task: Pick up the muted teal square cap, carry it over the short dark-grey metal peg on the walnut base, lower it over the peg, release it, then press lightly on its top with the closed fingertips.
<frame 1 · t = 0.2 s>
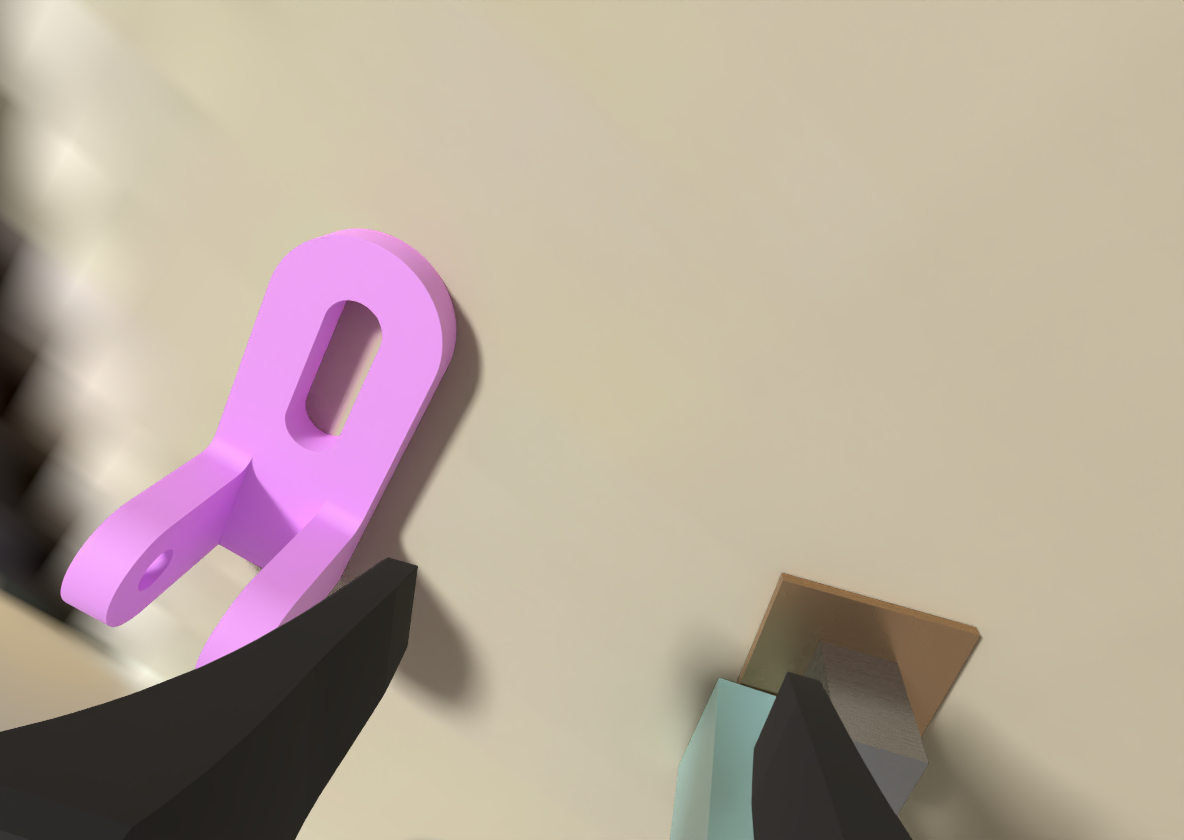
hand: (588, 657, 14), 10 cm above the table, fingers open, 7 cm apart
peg: (842, 671, 25), on the table
bracket: (336, 406, 24), on the table
cap: (766, 746, 26), on the table, tilted 5°, touching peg
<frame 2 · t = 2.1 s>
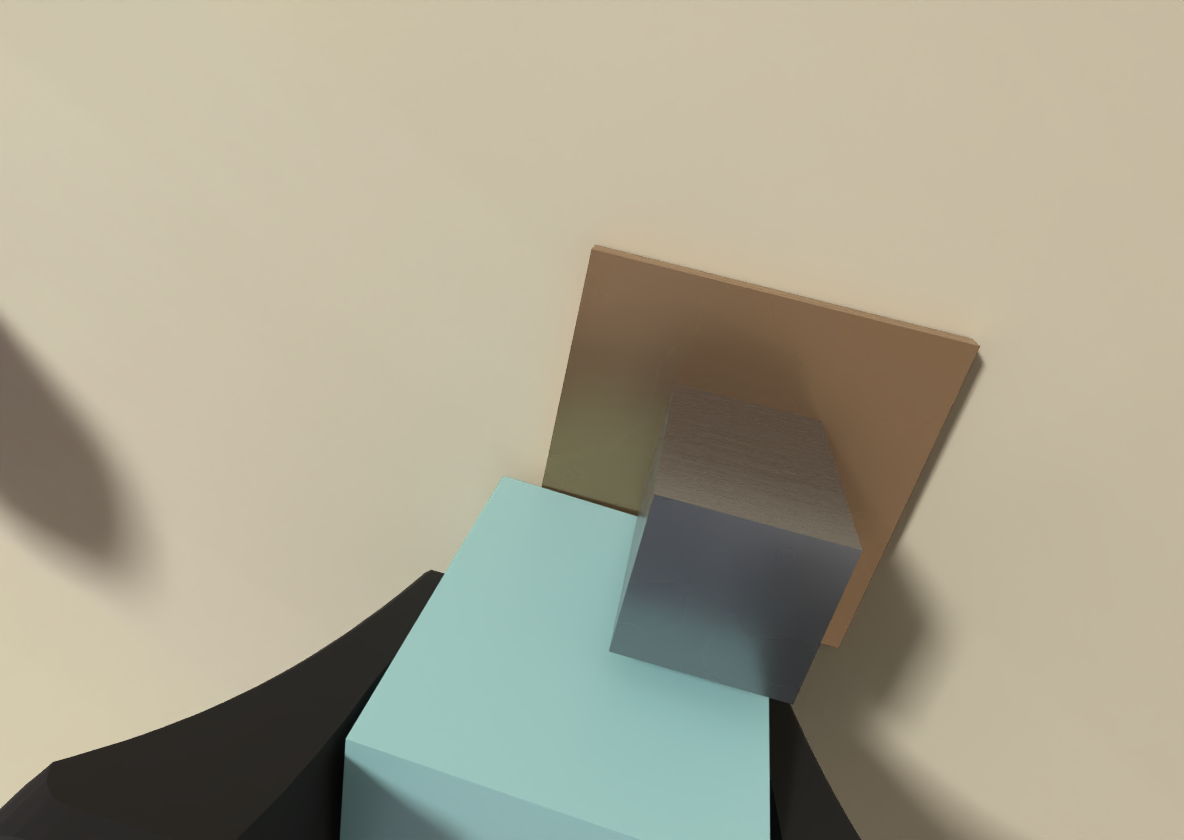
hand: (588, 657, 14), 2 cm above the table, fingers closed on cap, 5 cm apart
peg: (725, 456, 13), on the table
cap: (603, 612, 15), on the table, tilted 5°, touching gripper
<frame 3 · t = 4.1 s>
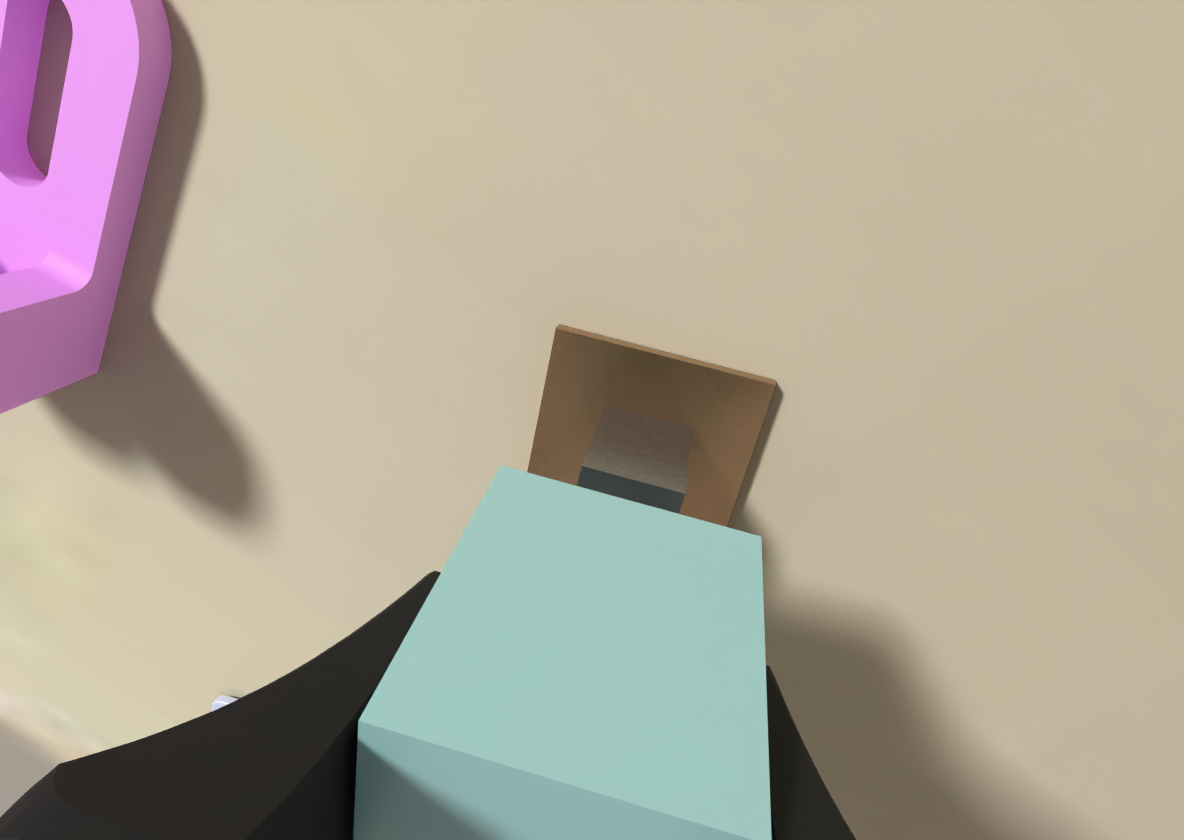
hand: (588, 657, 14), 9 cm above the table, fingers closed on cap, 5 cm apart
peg: (639, 448, 22), on the table
bracket: (65, 150, 22), on the table
cap: (602, 597, 15), point 7 cm above the table, tilted 5°, touching gripper
when the fingers open (4 cm above the table, at t = 6.1 s): cap drops 2 cm, resting on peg.
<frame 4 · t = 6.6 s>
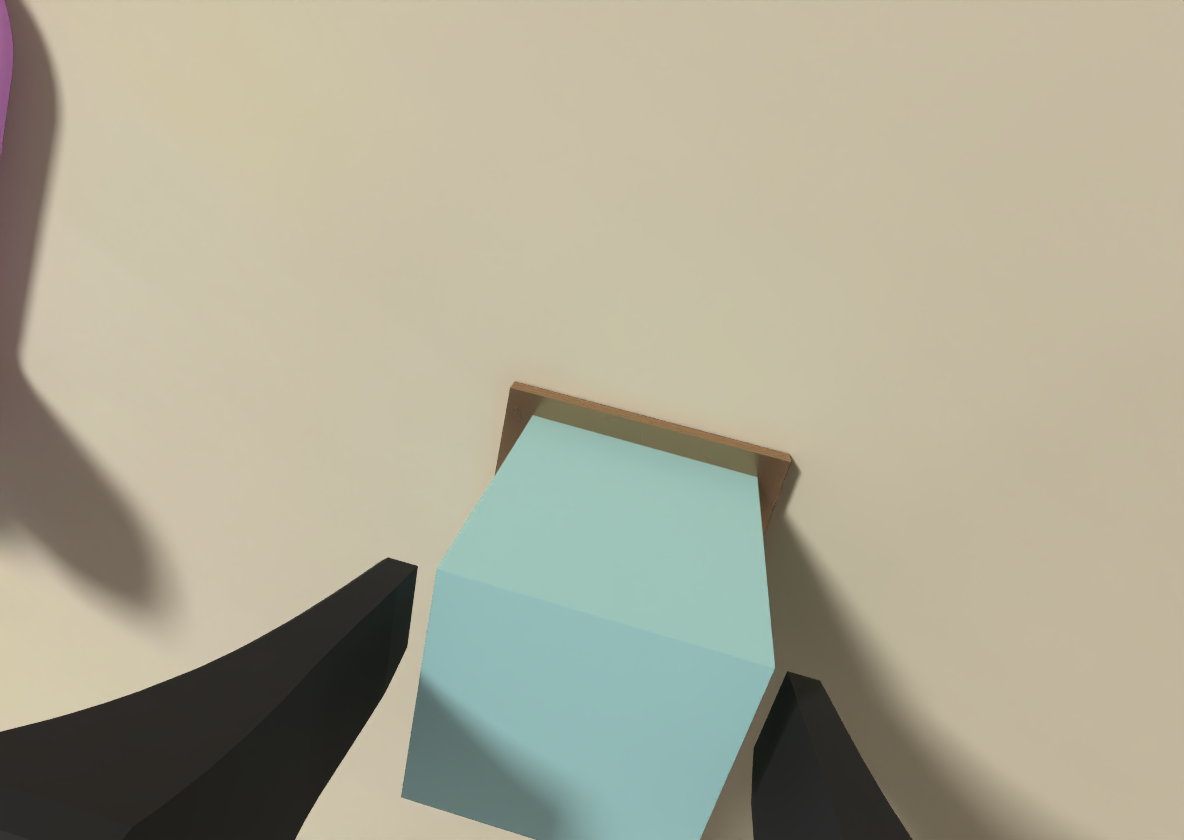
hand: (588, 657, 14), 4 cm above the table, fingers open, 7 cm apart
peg: (619, 533, 18), on the table
cap: (617, 540, 17), resting on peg
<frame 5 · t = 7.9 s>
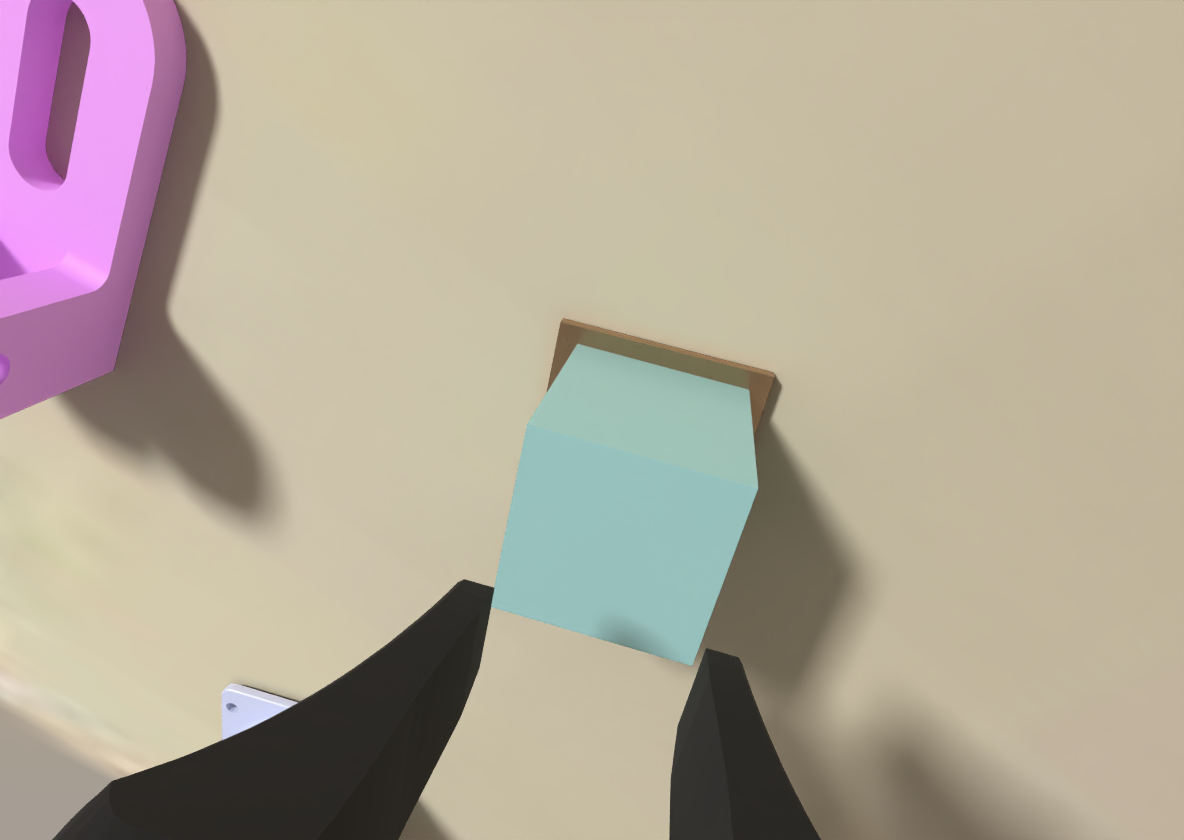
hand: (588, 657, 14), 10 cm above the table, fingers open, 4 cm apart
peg: (642, 439, 22), on the table
bracket: (82, 154, 22), on the table
cap: (641, 443, 22), resting on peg
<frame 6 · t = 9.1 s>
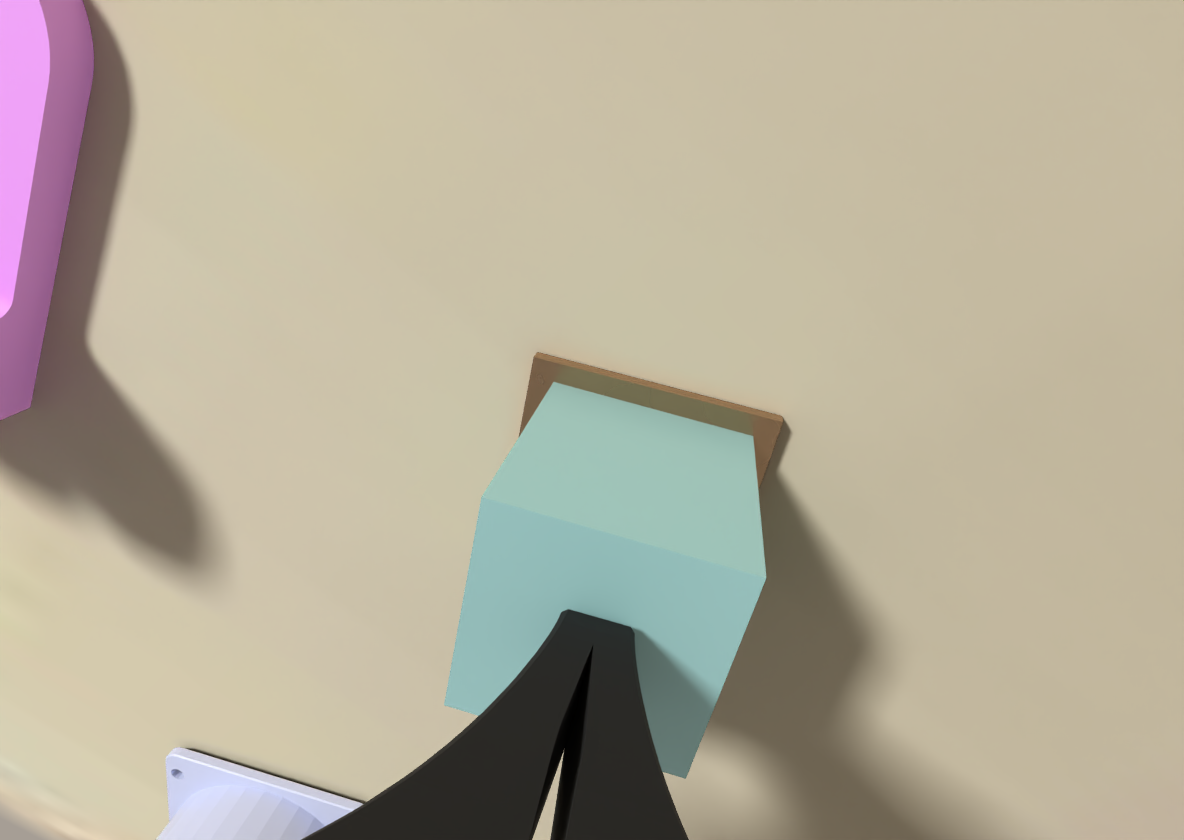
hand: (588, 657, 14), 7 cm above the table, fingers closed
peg: (629, 489, 20), on the table
cap: (628, 495, 19), resting on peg
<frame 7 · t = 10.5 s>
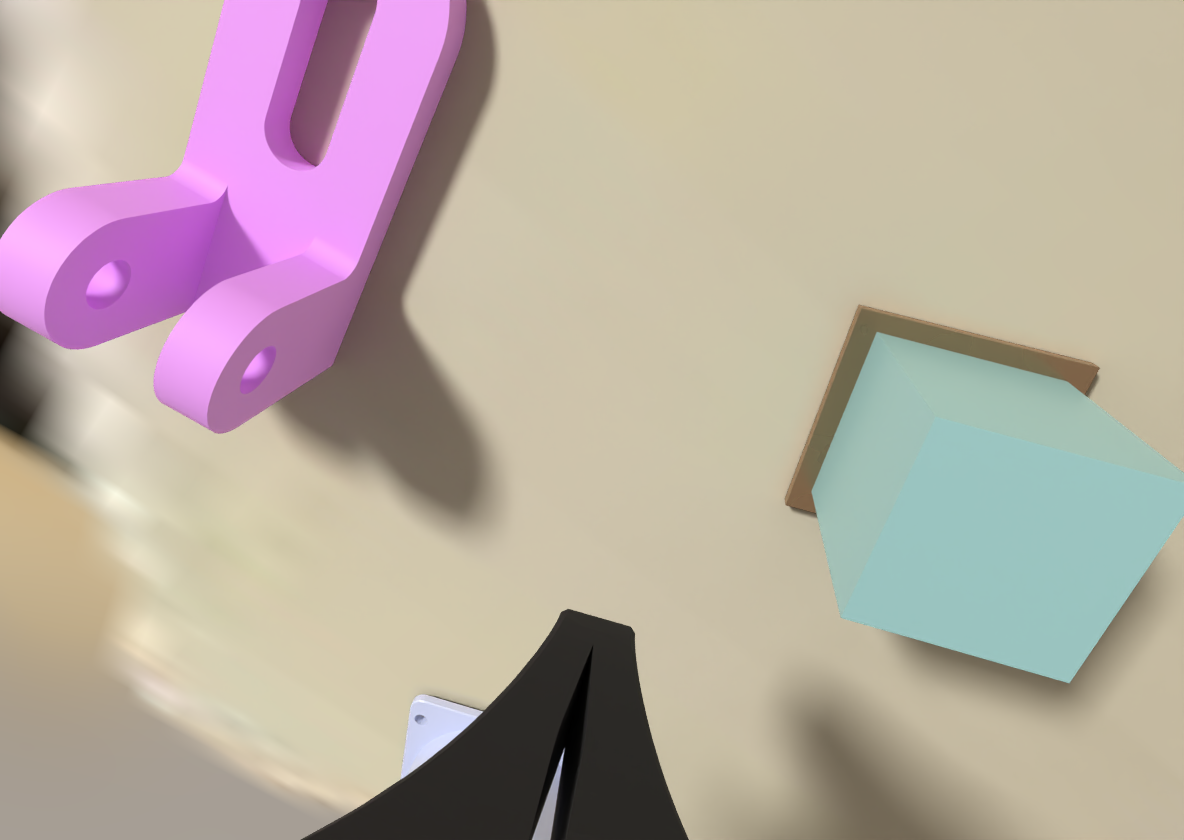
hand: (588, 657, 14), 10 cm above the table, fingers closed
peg: (927, 435, 21), on the table
bracket: (326, 133, 21), on the table
cap: (931, 439, 21), resting on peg
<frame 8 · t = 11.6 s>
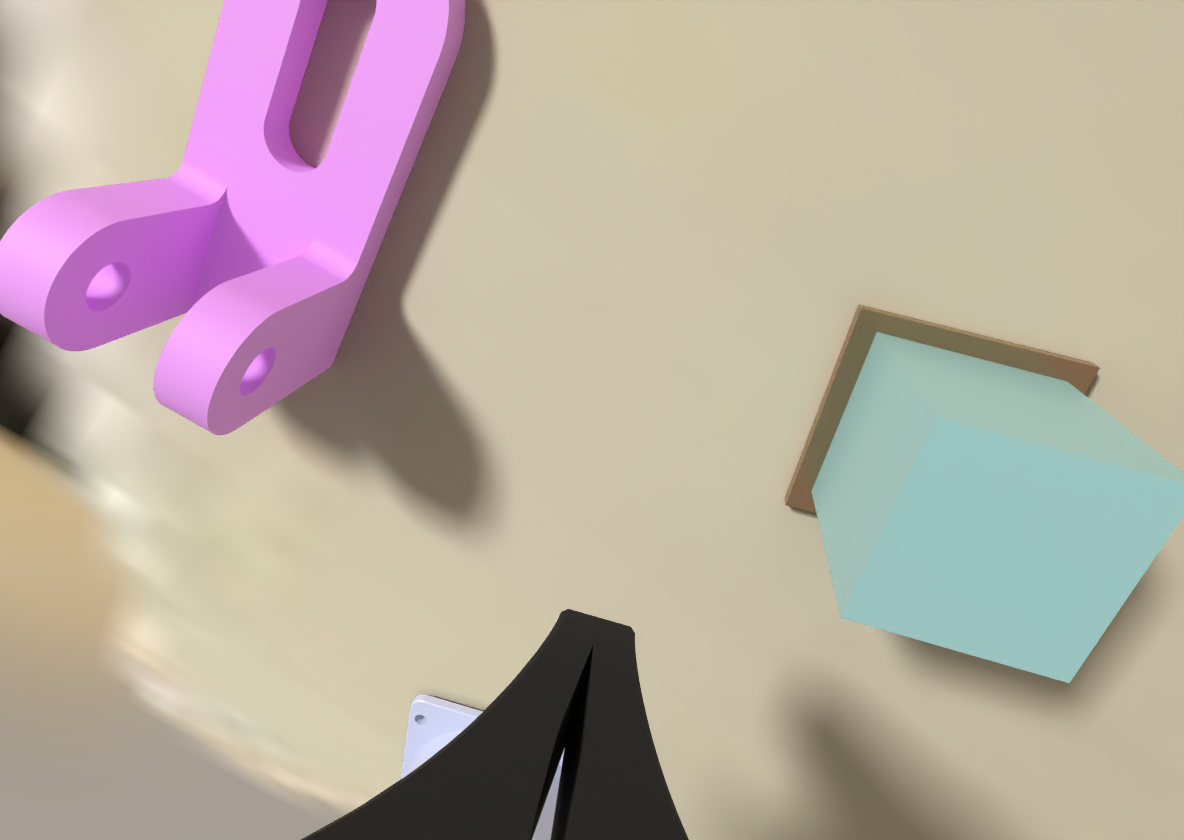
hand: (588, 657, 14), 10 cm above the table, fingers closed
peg: (927, 435, 21), on the table
bracket: (325, 134, 21), on the table
cap: (931, 439, 21), resting on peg
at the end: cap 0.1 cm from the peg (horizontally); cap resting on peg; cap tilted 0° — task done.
